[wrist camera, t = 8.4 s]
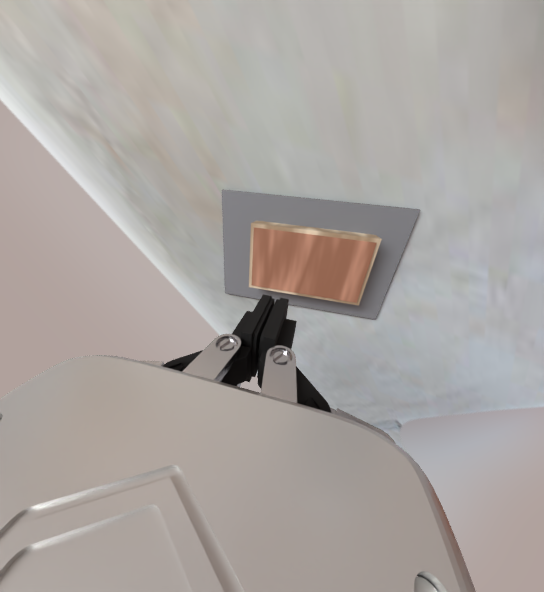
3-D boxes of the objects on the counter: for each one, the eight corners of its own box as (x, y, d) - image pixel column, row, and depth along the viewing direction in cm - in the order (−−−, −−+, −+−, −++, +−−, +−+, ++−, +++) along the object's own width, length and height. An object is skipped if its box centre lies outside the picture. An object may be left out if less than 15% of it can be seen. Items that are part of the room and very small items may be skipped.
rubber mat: (418, 209, 21) (420, 209, 21) (374, 317, 28) (375, 319, 27) (223, 189, 24) (221, 189, 23) (226, 291, 31) (225, 293, 30)
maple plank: (256, 220, 24) (375, 234, 22) (254, 279, 28) (355, 296, 26) (250, 223, 22) (382, 239, 20) (248, 287, 26) (359, 306, 24)
